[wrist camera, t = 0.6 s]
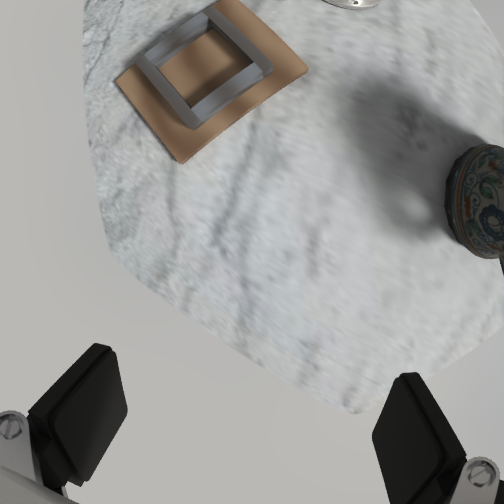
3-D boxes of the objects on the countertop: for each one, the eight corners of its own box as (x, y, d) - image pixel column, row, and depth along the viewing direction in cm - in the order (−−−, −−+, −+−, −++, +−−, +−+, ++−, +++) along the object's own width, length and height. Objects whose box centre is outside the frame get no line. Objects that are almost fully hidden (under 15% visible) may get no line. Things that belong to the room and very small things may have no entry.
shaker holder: (232, -1, 30) (228, -18, 26) (307, 71, 32) (311, 58, 28) (120, 83, 34) (104, 75, 30) (183, 164, 36) (171, 162, 32)
